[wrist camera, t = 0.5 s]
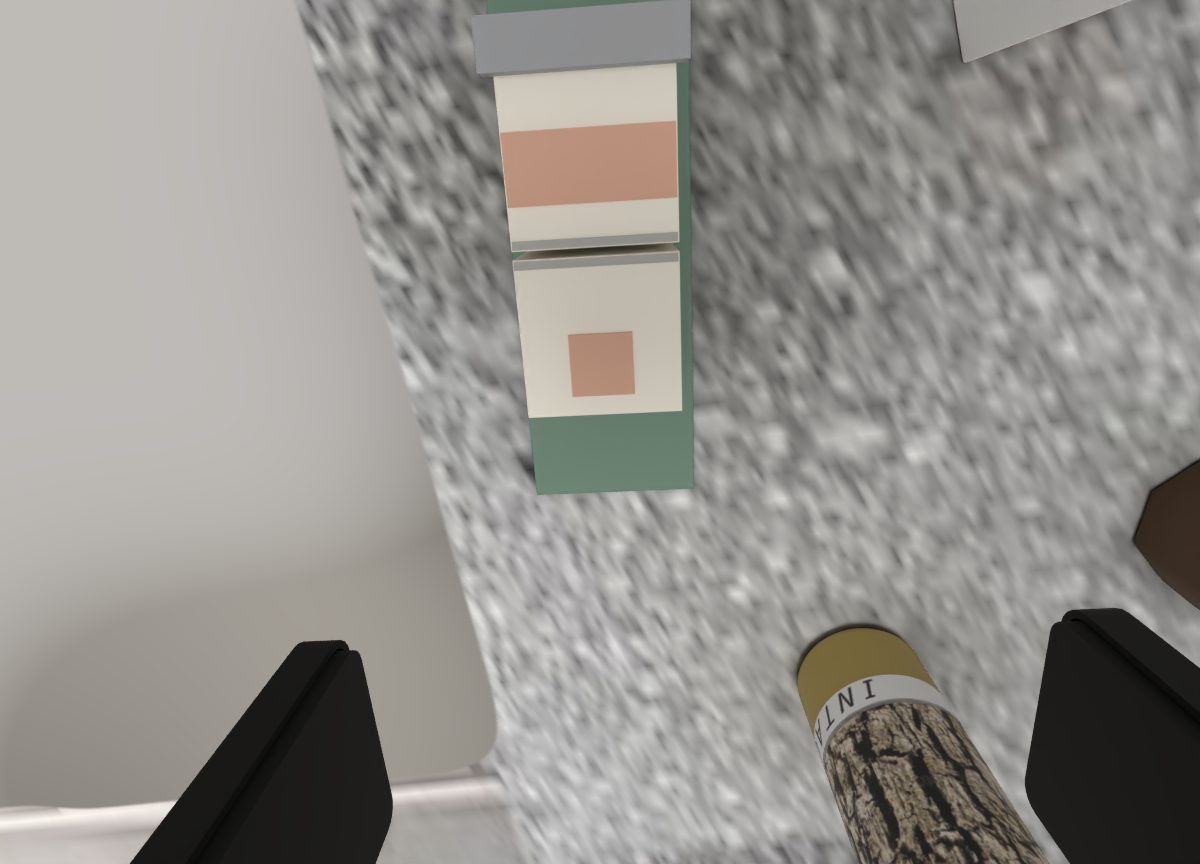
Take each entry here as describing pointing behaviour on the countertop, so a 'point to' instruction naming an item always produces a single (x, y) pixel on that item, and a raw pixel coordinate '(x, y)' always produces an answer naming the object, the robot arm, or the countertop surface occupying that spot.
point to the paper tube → (904, 759)
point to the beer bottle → (1174, 533)
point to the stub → (600, 329)
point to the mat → (632, 440)
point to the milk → (1016, 21)
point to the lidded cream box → (587, 121)
